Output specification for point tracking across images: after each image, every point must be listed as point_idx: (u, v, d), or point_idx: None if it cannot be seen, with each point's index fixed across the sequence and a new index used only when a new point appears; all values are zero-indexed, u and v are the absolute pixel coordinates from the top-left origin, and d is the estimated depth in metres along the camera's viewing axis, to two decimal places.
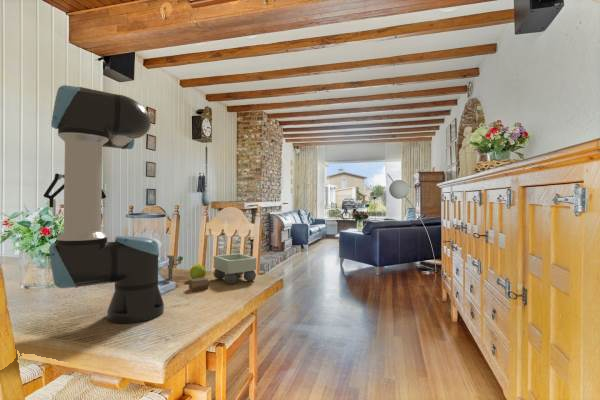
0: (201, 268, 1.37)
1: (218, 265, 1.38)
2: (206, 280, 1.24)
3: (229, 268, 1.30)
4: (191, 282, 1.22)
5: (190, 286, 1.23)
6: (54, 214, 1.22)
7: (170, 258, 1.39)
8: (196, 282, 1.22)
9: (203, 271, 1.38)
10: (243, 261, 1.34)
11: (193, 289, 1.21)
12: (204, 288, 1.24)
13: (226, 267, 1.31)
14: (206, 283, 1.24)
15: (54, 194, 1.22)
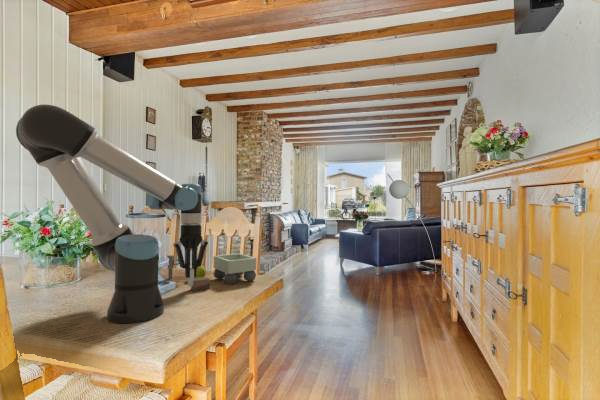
0: (201, 268, 1.37)
1: (218, 265, 1.38)
2: (208, 279, 1.25)
3: (229, 268, 1.30)
4: None
5: None
6: (191, 284, 1.21)
7: (170, 258, 1.39)
8: (198, 281, 1.22)
9: (203, 271, 1.38)
10: (243, 261, 1.34)
11: (195, 288, 1.22)
12: (206, 287, 1.24)
13: (226, 267, 1.31)
14: (208, 282, 1.25)
15: (188, 264, 1.21)
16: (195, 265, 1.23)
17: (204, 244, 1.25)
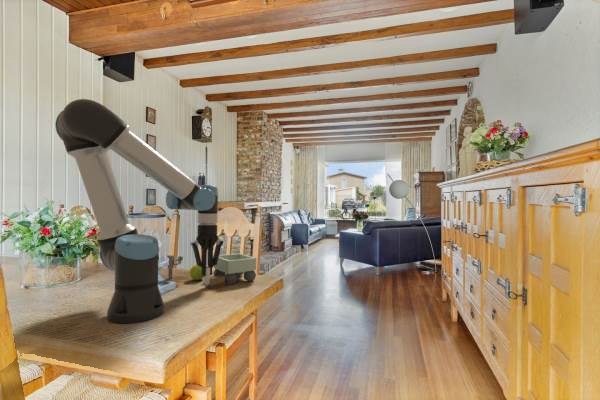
0: (201, 268, 1.37)
1: (218, 265, 1.38)
2: (223, 278, 1.29)
3: (229, 268, 1.30)
4: None
5: None
6: (207, 282, 1.25)
7: (170, 258, 1.39)
8: (214, 279, 1.26)
9: None
10: (243, 261, 1.34)
11: (211, 286, 1.26)
12: (221, 285, 1.28)
13: (226, 267, 1.31)
14: (223, 281, 1.29)
15: (204, 262, 1.25)
16: (211, 264, 1.26)
17: (220, 243, 1.29)
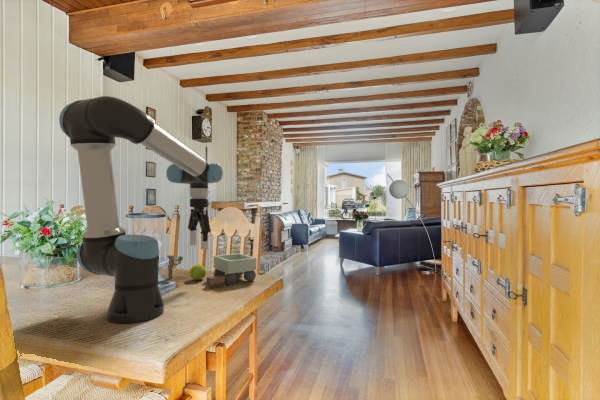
0: (201, 268, 1.37)
1: (218, 265, 1.38)
2: (223, 278, 1.29)
3: (229, 268, 1.30)
4: (209, 279, 1.26)
5: (207, 283, 1.28)
6: (190, 243, 1.44)
7: (170, 258, 1.39)
8: (214, 279, 1.26)
9: (203, 271, 1.38)
10: (243, 261, 1.34)
11: (211, 286, 1.26)
12: (221, 285, 1.28)
13: (226, 267, 1.31)
14: (223, 280, 1.29)
15: (190, 226, 1.44)
16: (202, 230, 1.33)
17: (201, 213, 1.34)
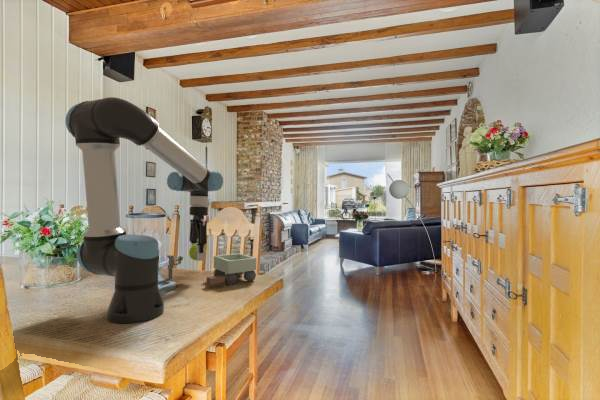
0: None
1: (218, 265, 1.38)
2: (223, 278, 1.29)
3: (229, 268, 1.30)
4: (209, 280, 1.26)
5: (207, 283, 1.27)
6: None
7: (170, 258, 1.39)
8: (214, 279, 1.26)
9: None
10: (243, 261, 1.34)
11: (211, 286, 1.26)
12: (221, 285, 1.28)
13: (226, 267, 1.31)
14: (223, 280, 1.29)
15: (191, 238, 1.41)
16: (198, 242, 1.34)
17: (200, 223, 1.34)
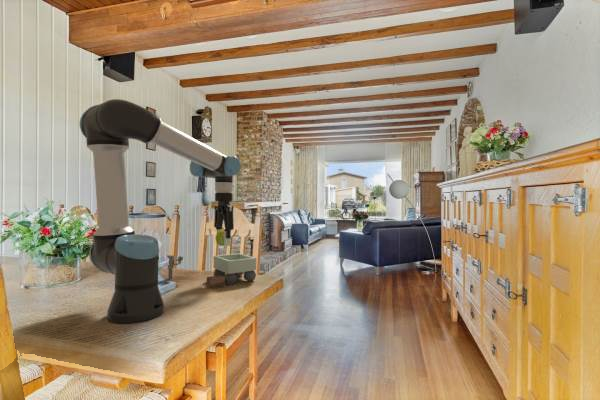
0: None
1: (218, 265, 1.38)
2: (223, 278, 1.29)
3: (229, 268, 1.30)
4: (209, 280, 1.26)
5: (207, 283, 1.27)
6: None
7: (170, 258, 1.39)
8: (214, 279, 1.26)
9: None
10: (243, 261, 1.34)
11: (211, 286, 1.26)
12: (221, 285, 1.28)
13: (226, 267, 1.31)
14: (223, 280, 1.29)
15: (216, 224, 1.42)
16: (225, 228, 1.36)
17: (227, 209, 1.35)
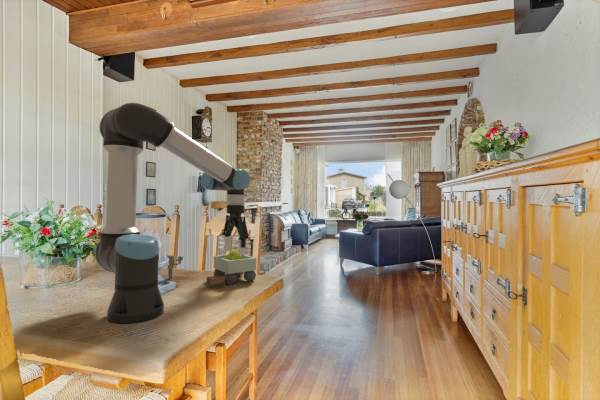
0: (238, 254, 1.38)
1: (218, 265, 1.38)
2: (223, 277, 1.29)
3: (229, 268, 1.30)
4: (209, 280, 1.26)
5: (207, 283, 1.27)
6: (225, 249, 1.44)
7: (170, 258, 1.39)
8: (214, 279, 1.26)
9: (240, 257, 1.39)
10: (243, 261, 1.34)
11: (211, 286, 1.25)
12: (221, 285, 1.28)
13: (226, 267, 1.31)
14: (223, 280, 1.29)
15: (225, 232, 1.45)
16: (240, 237, 1.33)
17: (239, 219, 1.35)
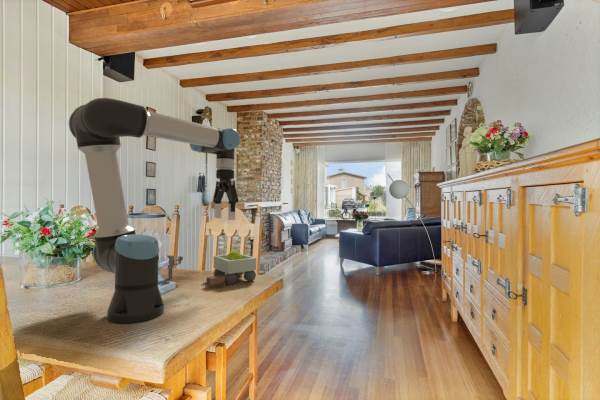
0: (238, 254, 1.38)
1: (218, 265, 1.38)
2: (223, 277, 1.29)
3: (229, 268, 1.30)
4: (209, 280, 1.26)
5: (207, 283, 1.27)
6: (215, 216, 1.41)
7: (170, 258, 1.39)
8: (214, 279, 1.26)
9: (240, 257, 1.39)
10: (243, 261, 1.34)
11: (211, 286, 1.25)
12: (221, 285, 1.28)
13: (226, 267, 1.31)
14: (223, 280, 1.29)
15: (215, 199, 1.42)
16: (229, 201, 1.30)
17: (228, 183, 1.32)
